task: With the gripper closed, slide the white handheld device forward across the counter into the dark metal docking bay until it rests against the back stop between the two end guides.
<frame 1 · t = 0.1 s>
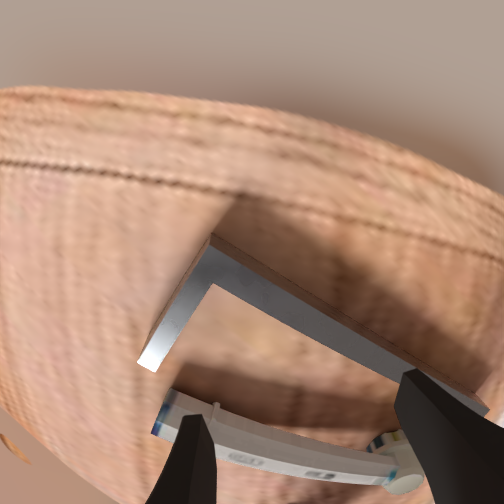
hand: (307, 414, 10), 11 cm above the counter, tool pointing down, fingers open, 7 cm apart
white handheld device: (306, 431, 24), on the counter
docking bay: (347, 395, 23), on the counter
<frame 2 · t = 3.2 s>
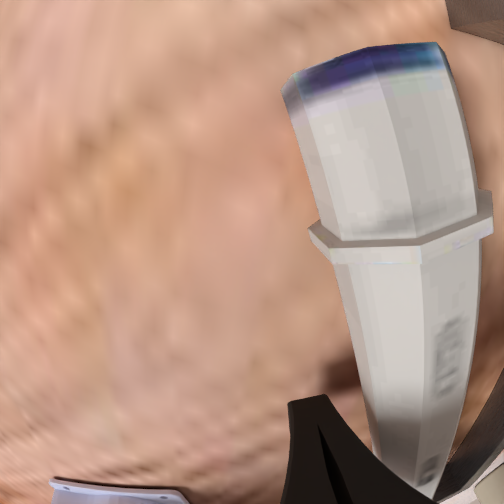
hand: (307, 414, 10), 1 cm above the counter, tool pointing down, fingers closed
travel mug: (494, 471, 27), on the counter
white handheld device: (383, 382, 13), on the counter, touching gripper
docking bay: (470, 363, 13), on the counter
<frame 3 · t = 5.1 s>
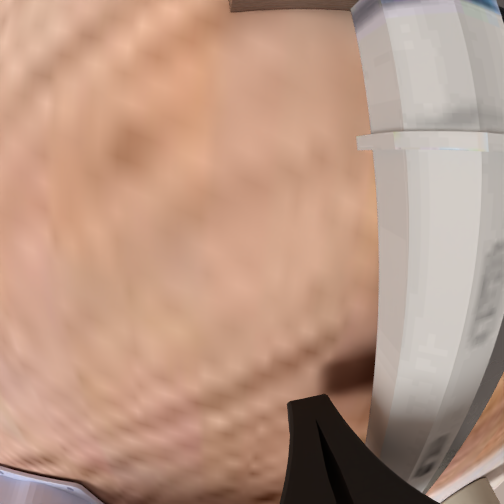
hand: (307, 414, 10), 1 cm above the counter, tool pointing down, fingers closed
travel mug: (460, 491, 27), on the counter
white handheld device: (380, 361, 12), on the counter, touching docking bay, gripper
docking bay: (350, 404, 12), on the counter
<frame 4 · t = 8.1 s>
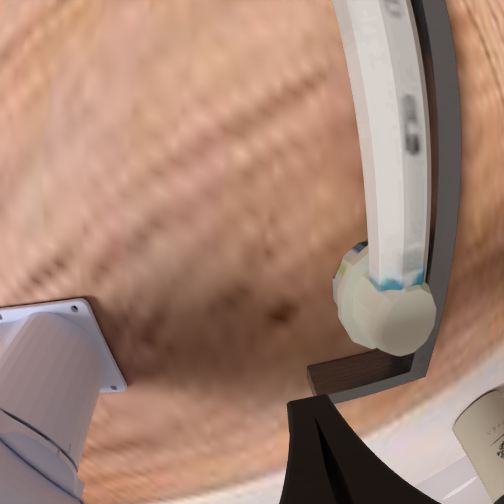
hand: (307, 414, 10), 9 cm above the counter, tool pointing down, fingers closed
travel mug: (475, 410, 30), on the counter
white handheld device: (362, 118, 16), on the counter
docking bay: (348, 151, 16), on the counter
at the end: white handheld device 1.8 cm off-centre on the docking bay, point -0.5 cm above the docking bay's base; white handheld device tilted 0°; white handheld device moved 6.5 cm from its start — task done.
